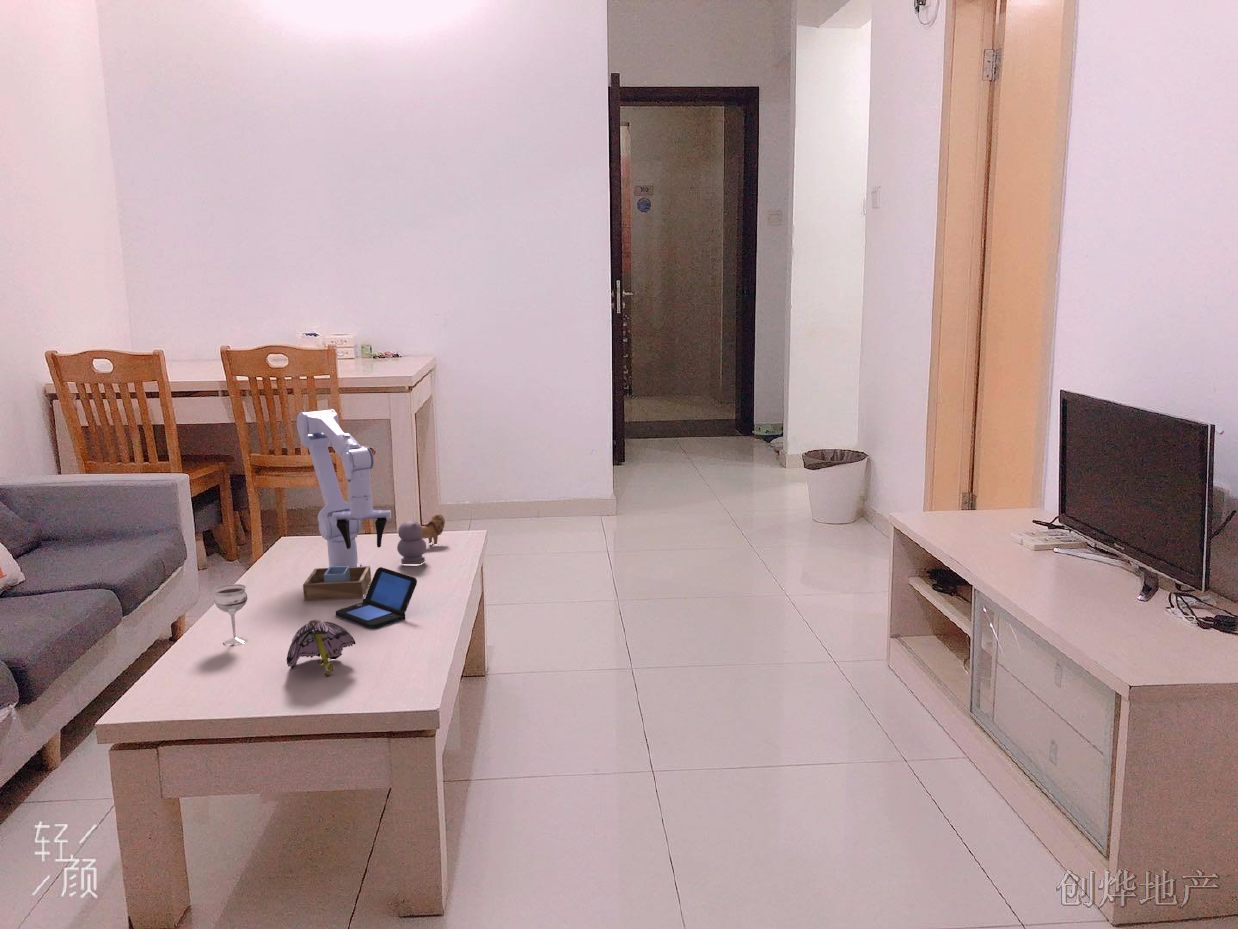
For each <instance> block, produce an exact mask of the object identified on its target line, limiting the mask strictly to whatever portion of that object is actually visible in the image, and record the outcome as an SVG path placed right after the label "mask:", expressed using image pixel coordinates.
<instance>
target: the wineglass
mask: <svg viewBox="0 0 1238 929" xmlns="http://www.w3.org/2000/svg"><path fill="white" fill-rule="evenodd" d="M246 588H247V585H245V584H240V583H235V584H226V585H222V586H218V587H215V588H214V589H213V592H214V594H215V595H214V597H213V598H214V599H213V600H214V601H213V602H214V603H215V604H214V605H216V607H217V609H219V610H220V611H221V612H225V613H227V614H229V615H230V620H231V628H232V635H233V638H229V640H228V639H227V641H226V640H225V644H240V645H242V644H245V643H246V642H247V641H246V639H247V638H246V639H244V638H245V637H236V620H235V614H236V613H237V612H238V611H239V610H242V609H243V607H245V605H246V604H247V602H248V594H247V591H246ZM244 642H245V643H244ZM241 643H242V644H241Z"/></svg>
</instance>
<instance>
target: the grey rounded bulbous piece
mask: <svg viewBox="0 0 1238 929" xmlns="http://www.w3.org/2000/svg"><path fill="white" fill-rule="evenodd" d="M397 533H398V537H399V538H400V540H399V541H398V543H397V547H396V550H397V552H398V554H399V555H400V556H401V557H402V558H401V559H400V562H401V563H402V564H421V563H423V562H424V561H425V562H426V558H425V556H423V555H424V553H425V552H426V551H427V543H426V541H425V540H424V539H422V538H421V537H422V534H423V529H422V525H421V524H420V523H419V522H417V521H415V520H414V518H411V520H406V521H404V522H403V523H402V524H400V526H399V527H398V531H397ZM401 563H400V564H401Z"/></svg>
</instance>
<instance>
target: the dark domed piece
mask: <svg viewBox="0 0 1238 929" xmlns="http://www.w3.org/2000/svg"><path fill="white" fill-rule="evenodd" d="M356 644H357V643H356V640H355V638H354V637H353V636H352V635H351V633H349V631H347V630H346V629H345V628H344V627H342V626H340V625H339V624H337V623H334V622H330V621H321V620H319V619H313V620H310V621H309V622H308V623H306V624H305V625H303V626H301V627H300V628H299V629H298V630H297V632H296V633H295V634H294V636H293V638H292V639H291V644H290V646H289V648H288V650H287V651H288V652H287V655H286V665H287V667H288V668H289V667H290V668H291V669H292V670H294V667H295V665H296V664H297V663H298V662H299V661H298V660H299V659H300V658H305V657H306V658H311V659H312V658H313V657H315V656H316V657H319V659H318V660H317V663H318V665H323V666H325V669H326V671H325V672H324V675H326V676H325V677H328V676H327V675H330V676H331V672H332V671H333V670H334V664H333V663H330V661H329V660H331V659H335V660H336V659H338V658H340V657H341V656H342V655H343V654H342V653H343V652H342V651H343V650H344V649H343V648H346V647H353V645H356ZM320 657H321V658H320Z"/></svg>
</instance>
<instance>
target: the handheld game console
mask: <svg viewBox="0 0 1238 929" xmlns="http://www.w3.org/2000/svg"><path fill="white" fill-rule="evenodd" d="M417 583H418V580H417V578H416V577H414V576H411V575H408V574H404V573H402V572H398V571H395V570H392V569H388V568H385V567H383V566H382V567H381V566H380V567H377V569H376V570H375V572H374V574H373V577H372V578H371V582H370V584H369V586H368V588H367V591H366V593H365V596H364V598H362V601H361V602H359V603H355V604H352V605H350V606H346V607H344V608H340V609H336V610H335V616H336V617H338V618H340V619H343V620H346V621H347V622H350V623H354V624H355V625H359V626H362V627H365V628H367V629H370V630H375V629H379V628H382V627H385V626H388V625H392V624H395V623H397V622H400V621H405V620H406V612H407V610H408V609H407V608H408V606H409V604H410V601H411V600H412V596H413V594H414V592H415V589H416V586H417Z"/></svg>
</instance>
